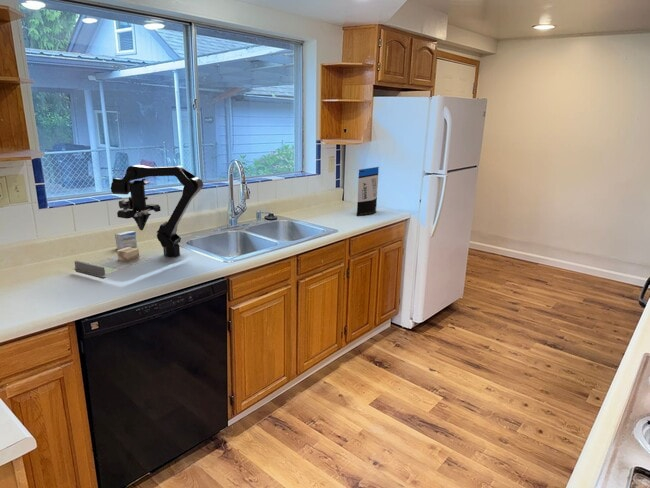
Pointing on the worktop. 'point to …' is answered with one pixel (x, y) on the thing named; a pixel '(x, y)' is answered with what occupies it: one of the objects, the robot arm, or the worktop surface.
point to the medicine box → (126, 240)
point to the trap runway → (105, 266)
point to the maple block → (128, 254)
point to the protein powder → (367, 191)
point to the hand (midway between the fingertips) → (141, 230)
